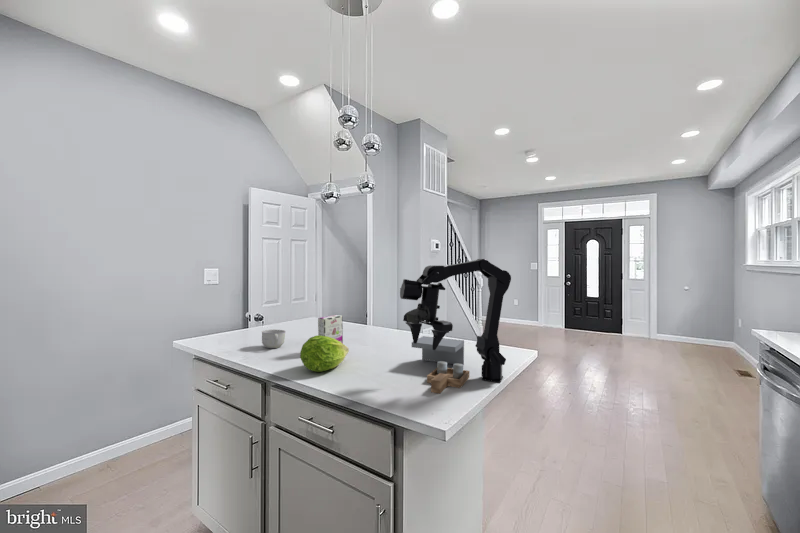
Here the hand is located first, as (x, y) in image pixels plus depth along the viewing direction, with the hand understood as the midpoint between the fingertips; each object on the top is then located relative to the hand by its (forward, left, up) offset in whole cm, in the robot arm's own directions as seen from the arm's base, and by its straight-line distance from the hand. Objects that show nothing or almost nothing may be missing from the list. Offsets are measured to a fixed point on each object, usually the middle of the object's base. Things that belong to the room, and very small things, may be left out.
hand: (424, 346), depth 125 cm
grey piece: (+3, -22, -13) cm, 26 cm away
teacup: (+84, -15, -13) cm, 86 cm away
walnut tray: (-6, -4, -13) cm, 15 cm away
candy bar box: (+55, -21, -13) cm, 60 cm away
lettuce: (+42, -2, -13) cm, 44 cm away
